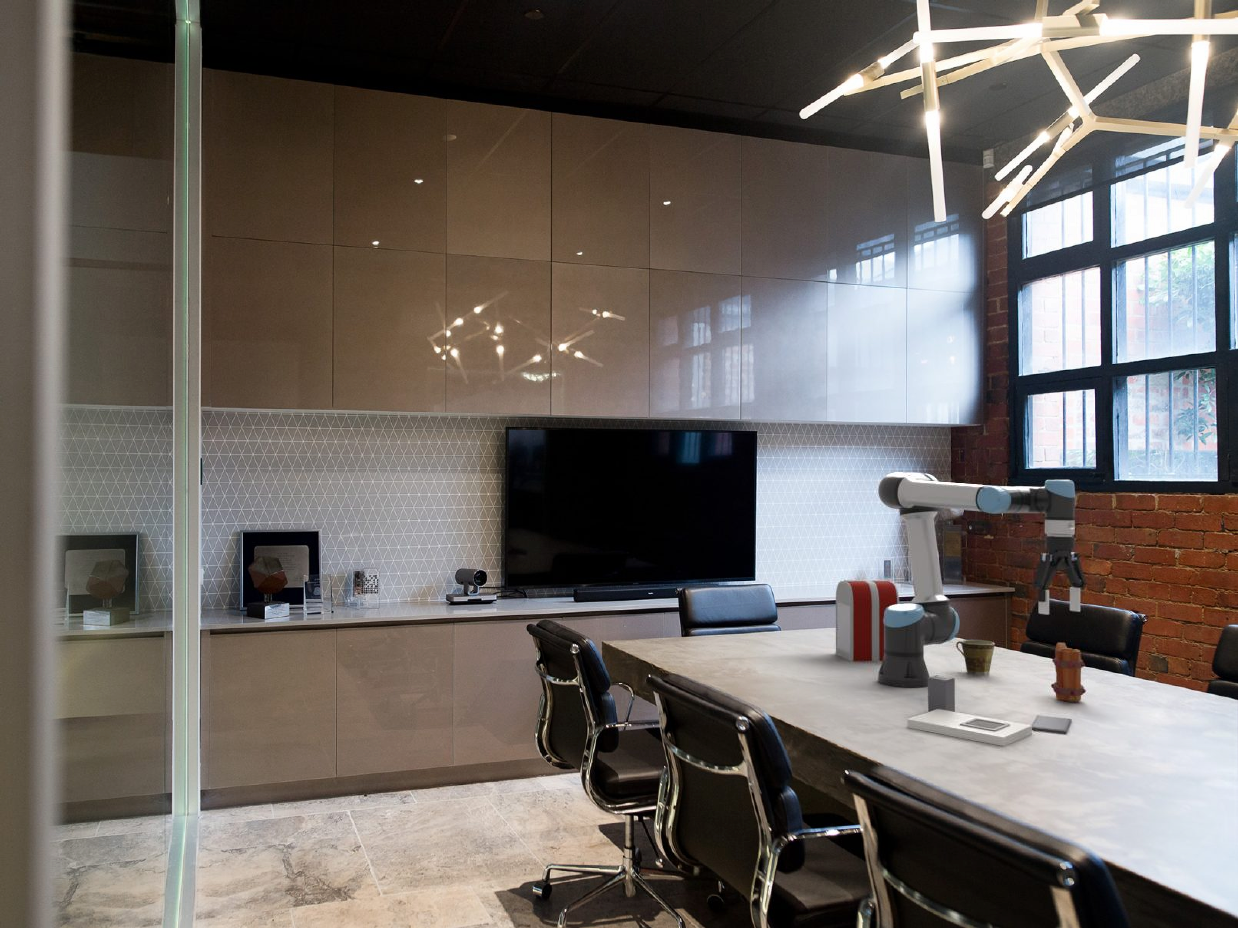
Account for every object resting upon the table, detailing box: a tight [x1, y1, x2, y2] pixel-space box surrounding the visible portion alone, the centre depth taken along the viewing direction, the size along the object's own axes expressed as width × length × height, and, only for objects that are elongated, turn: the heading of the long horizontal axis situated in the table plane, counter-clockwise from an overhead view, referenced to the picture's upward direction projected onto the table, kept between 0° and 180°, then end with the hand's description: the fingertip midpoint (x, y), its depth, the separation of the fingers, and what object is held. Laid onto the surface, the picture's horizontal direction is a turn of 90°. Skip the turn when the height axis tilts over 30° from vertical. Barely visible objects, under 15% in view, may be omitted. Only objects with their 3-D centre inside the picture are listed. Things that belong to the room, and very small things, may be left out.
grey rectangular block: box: [927, 674, 956, 712], centre depth 251 cm, size 5×5×9 cm
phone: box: [1030, 715, 1073, 735], centre depth 237 cm, size 8×15×1 cm, turn 150°
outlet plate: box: [906, 709, 1033, 747], centre depth 231 cm, size 24×16×2 cm, turn 45°
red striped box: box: [835, 579, 900, 663], centre depth 334 cm, size 16×18×27 cm
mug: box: [1050, 642, 1087, 703], centre depth 269 cm, size 15×8×15 cm, turn 168°
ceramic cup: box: [955, 639, 995, 676], centre depth 306 cm, size 13×10×10 cm
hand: (1059, 612), depth 262 cm, fingers open, 13 cm apart
